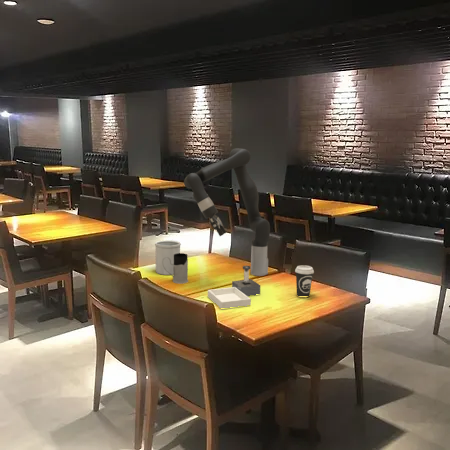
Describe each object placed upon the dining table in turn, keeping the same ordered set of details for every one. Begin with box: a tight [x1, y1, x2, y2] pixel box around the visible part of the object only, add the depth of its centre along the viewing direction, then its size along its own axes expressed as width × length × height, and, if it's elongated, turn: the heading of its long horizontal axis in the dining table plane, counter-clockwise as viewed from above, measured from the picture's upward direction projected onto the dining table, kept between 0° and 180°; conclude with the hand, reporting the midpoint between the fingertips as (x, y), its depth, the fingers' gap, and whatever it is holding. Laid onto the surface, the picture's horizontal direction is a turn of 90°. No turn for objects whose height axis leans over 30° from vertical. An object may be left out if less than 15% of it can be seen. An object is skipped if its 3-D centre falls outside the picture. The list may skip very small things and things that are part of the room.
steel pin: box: [242, 265, 251, 285], centre depth 258 cm, size 4×4×14 cm
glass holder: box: [163, 252, 189, 285], centre depth 274 cm, size 9×14×15 cm, turn 94°
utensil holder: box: [154, 239, 182, 276], centre depth 292 cm, size 15×15×18 cm
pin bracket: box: [231, 278, 261, 297], centre depth 259 cm, size 11×11×5 cm
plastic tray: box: [207, 286, 252, 309], centre depth 246 cm, size 15×19×4 cm
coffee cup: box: [294, 264, 315, 297], centre depth 255 cm, size 10×10×15 cm
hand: (223, 234), depth 262 cm, fingers open, 8 cm apart
